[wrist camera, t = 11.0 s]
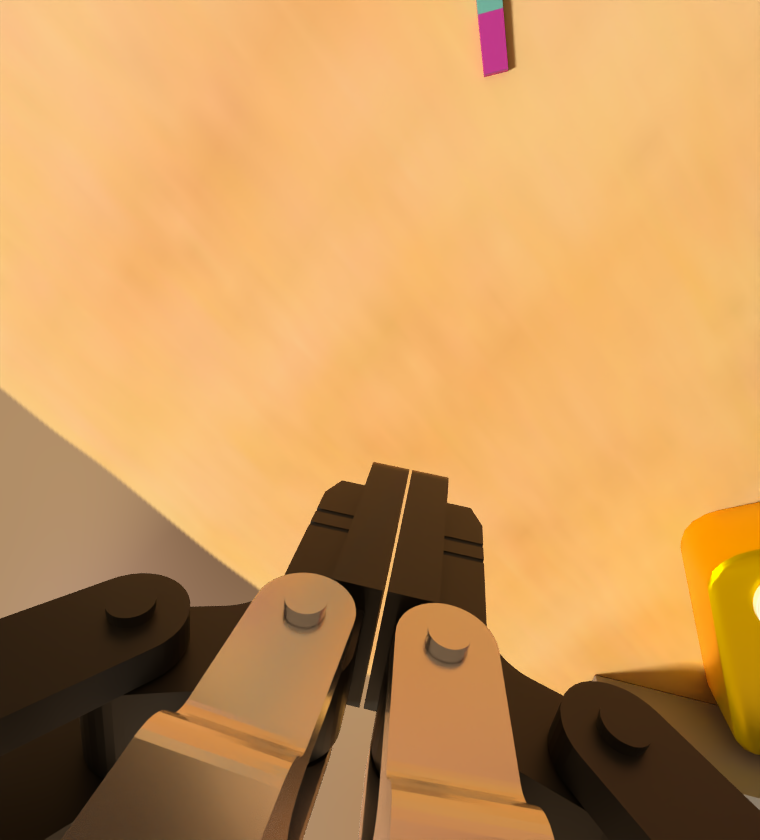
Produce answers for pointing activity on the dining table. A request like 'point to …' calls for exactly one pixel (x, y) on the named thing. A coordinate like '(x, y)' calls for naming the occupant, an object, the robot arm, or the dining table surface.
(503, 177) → the dining table surface
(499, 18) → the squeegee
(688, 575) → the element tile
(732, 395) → the dining table surface
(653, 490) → the dining table surface
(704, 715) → the bin
